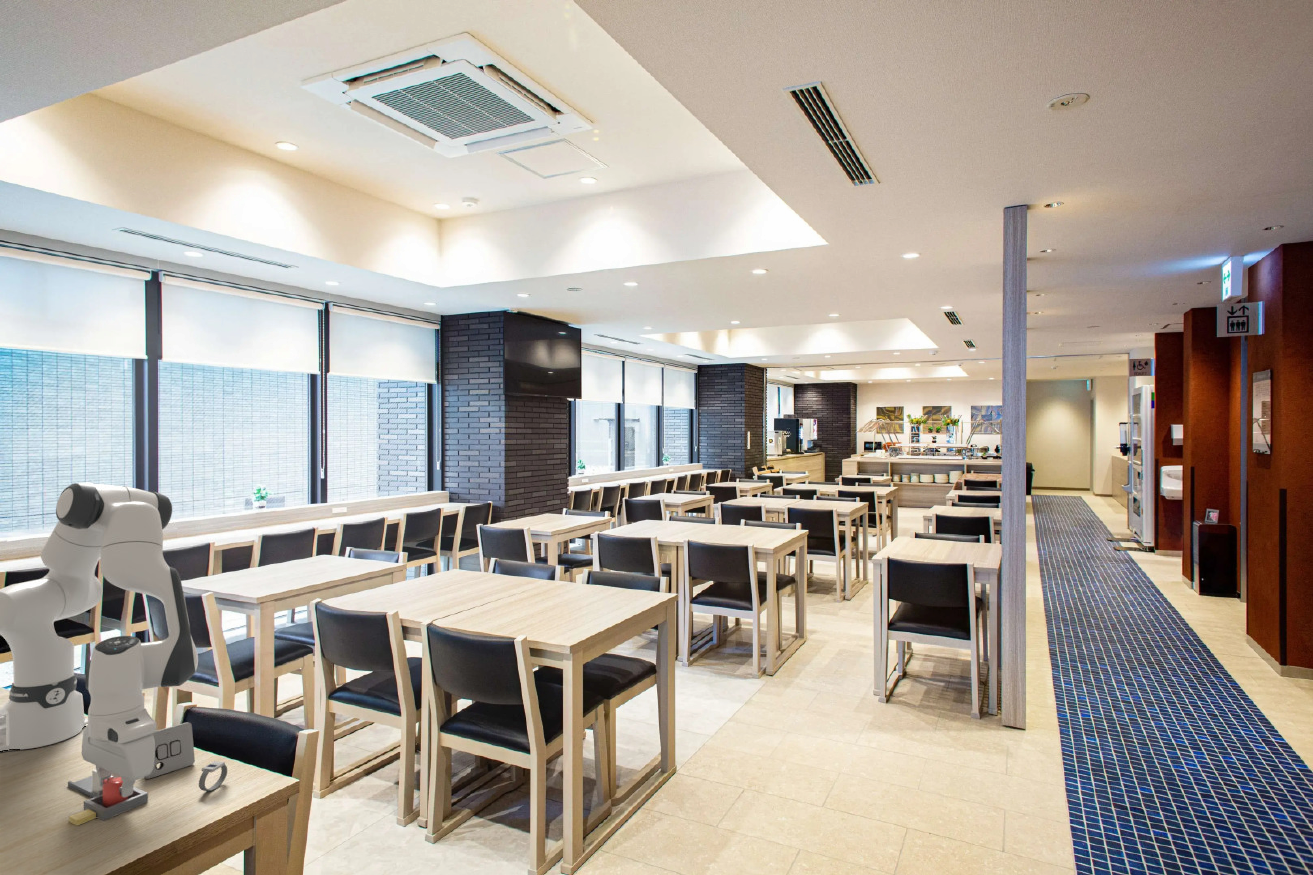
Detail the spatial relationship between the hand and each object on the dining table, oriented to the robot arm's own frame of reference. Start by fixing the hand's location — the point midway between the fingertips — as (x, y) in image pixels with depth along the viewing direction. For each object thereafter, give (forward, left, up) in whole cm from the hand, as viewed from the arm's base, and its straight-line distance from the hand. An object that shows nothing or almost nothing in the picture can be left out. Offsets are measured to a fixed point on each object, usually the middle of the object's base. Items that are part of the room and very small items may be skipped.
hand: (116, 790), depth 135 cm
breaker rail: (-12, +2, -3) cm, 12 cm away
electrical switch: (-8, +13, -3) cm, 16 cm away
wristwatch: (+10, +13, -3) cm, 17 cm away
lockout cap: (0, 0, -3) cm, 3 cm away
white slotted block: (-7, +2, -3) cm, 8 cm away
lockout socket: (0, -2, -3) cm, 3 cm away
